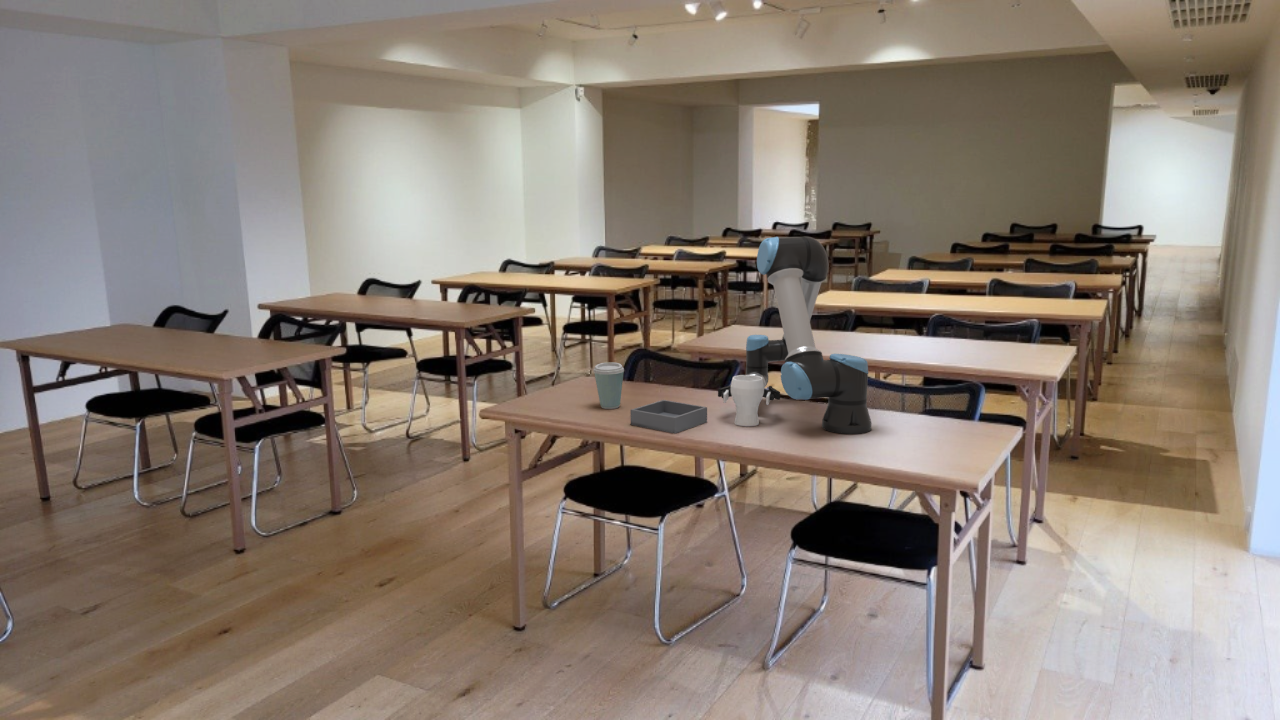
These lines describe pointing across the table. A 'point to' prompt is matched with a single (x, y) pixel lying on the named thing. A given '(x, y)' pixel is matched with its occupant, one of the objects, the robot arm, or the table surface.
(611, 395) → the disposable coffee cup
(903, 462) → the table surface
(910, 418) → the table surface
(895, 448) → the table surface
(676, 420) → the bin
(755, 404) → the white ceramic vase
